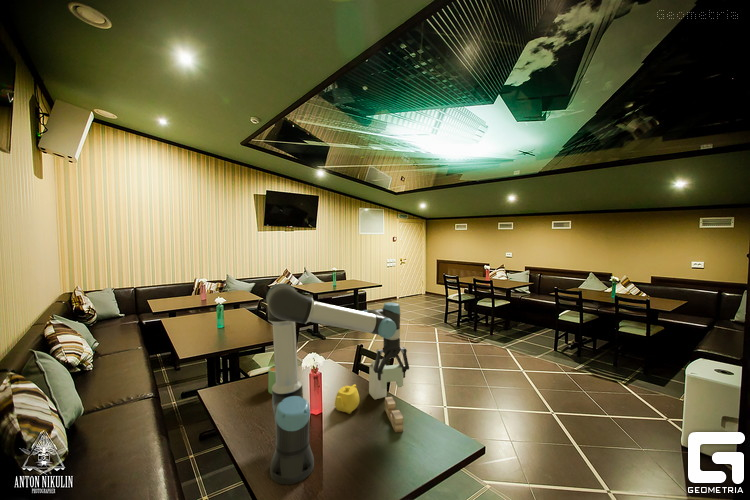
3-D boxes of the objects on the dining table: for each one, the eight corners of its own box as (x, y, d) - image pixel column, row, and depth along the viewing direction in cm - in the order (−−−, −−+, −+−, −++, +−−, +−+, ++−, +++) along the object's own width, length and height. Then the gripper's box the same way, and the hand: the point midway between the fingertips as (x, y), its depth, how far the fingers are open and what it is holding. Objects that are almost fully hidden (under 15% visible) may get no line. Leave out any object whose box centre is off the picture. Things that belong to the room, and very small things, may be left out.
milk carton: (368, 393, 162) (369, 358, 161) (380, 390, 165) (381, 356, 164) (374, 399, 156) (375, 363, 155) (386, 397, 159) (387, 361, 158)
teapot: (347, 422, 136) (347, 398, 136) (326, 416, 141) (327, 393, 140) (364, 402, 153) (365, 382, 152) (345, 397, 157) (346, 377, 157)
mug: (292, 388, 166) (292, 366, 166) (276, 396, 157) (277, 373, 157) (276, 382, 173) (277, 361, 173) (261, 389, 164) (261, 367, 164)
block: (401, 387, 137) (402, 367, 137) (382, 389, 135) (382, 369, 135) (399, 383, 140) (399, 364, 140) (380, 385, 138) (381, 366, 138)
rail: (403, 431, 130) (403, 418, 130) (395, 432, 129) (395, 418, 129) (391, 408, 148) (391, 396, 147) (384, 409, 147) (385, 397, 147)
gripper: (411, 333, 143) (411, 379, 144) (366, 336, 138) (366, 384, 139) (417, 338, 136) (416, 387, 136) (370, 341, 131) (369, 392, 131)
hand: (391, 385), depth 138 cm, fingers closed on block, 9 cm apart
